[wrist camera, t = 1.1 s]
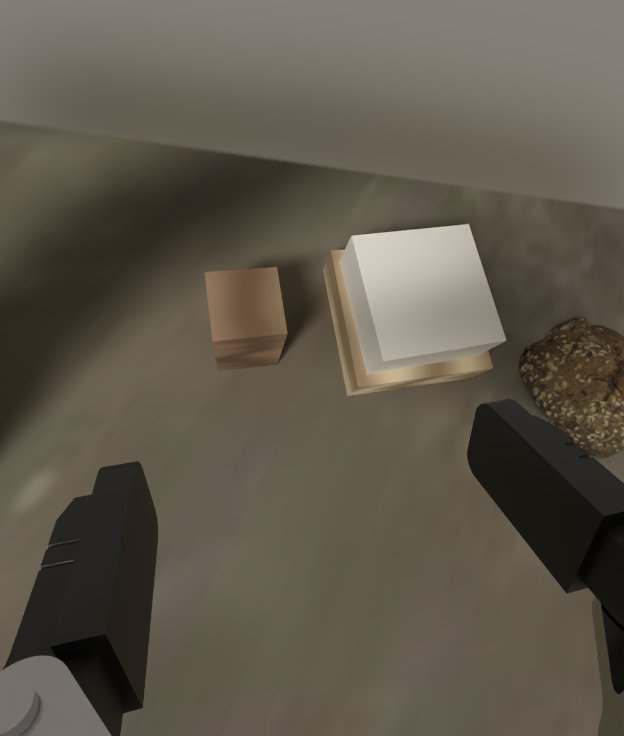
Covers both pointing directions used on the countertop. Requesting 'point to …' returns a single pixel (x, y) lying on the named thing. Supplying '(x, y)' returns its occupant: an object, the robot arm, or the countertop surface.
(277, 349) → the walnut block
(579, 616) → the countertop surface
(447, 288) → the tower top
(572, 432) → the bread roll
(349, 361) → the tower base
